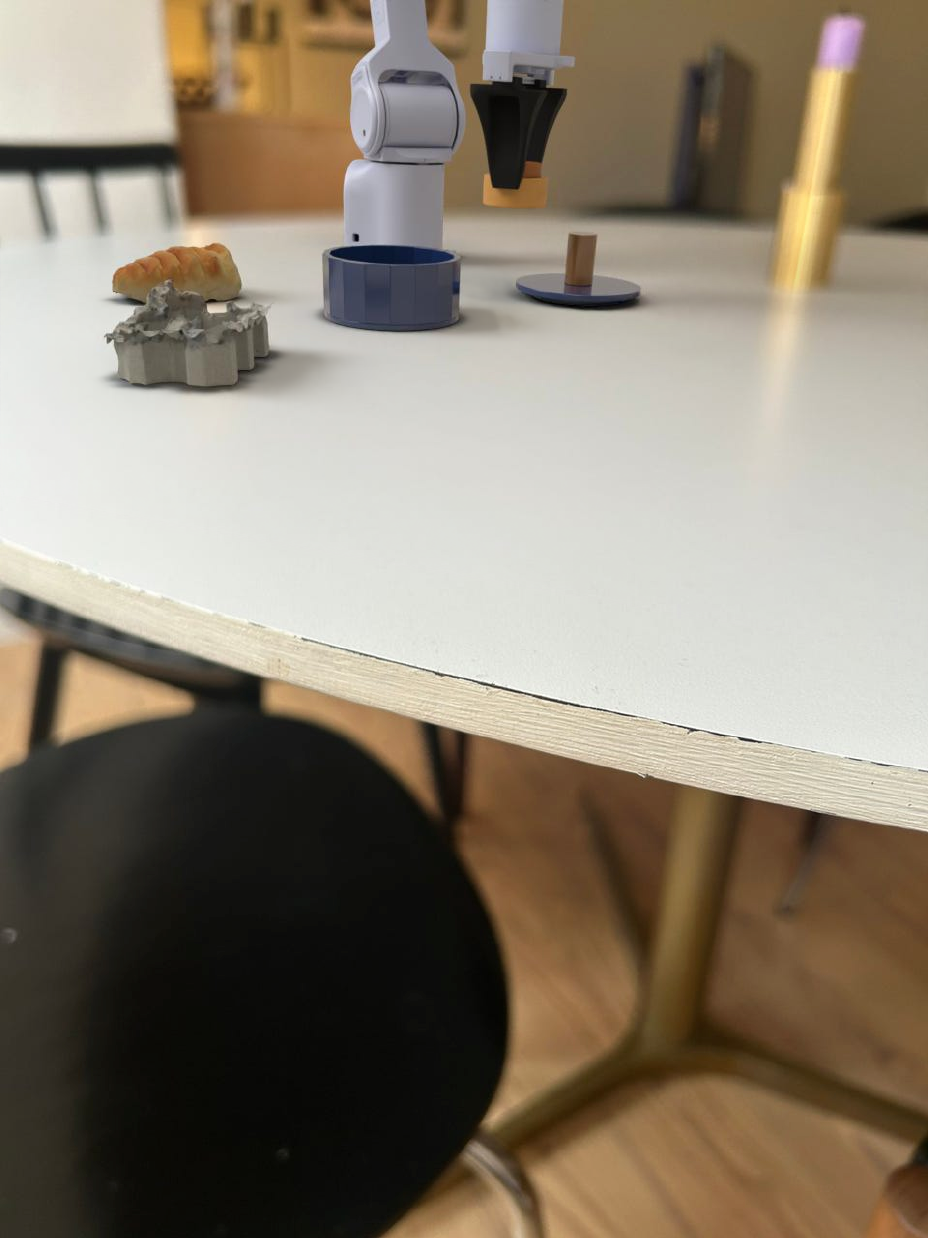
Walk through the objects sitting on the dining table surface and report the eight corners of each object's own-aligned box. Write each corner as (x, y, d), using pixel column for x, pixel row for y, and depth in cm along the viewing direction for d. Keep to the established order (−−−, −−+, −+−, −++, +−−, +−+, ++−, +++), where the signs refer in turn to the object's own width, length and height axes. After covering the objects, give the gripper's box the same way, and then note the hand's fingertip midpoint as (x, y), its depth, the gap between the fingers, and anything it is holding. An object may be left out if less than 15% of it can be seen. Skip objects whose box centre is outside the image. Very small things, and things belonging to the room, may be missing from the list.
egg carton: (174, 342, 62) (167, 276, 61) (286, 350, 62) (283, 284, 60) (96, 383, 53) (85, 306, 51) (226, 393, 52) (220, 316, 50)
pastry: (134, 309, 70) (127, 254, 69) (100, 295, 75) (92, 243, 73) (250, 298, 76) (246, 247, 74) (211, 285, 80) (207, 236, 78)
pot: (301, 321, 69) (298, 257, 67) (357, 298, 78) (356, 240, 76) (432, 336, 67) (434, 269, 65) (475, 310, 75) (477, 251, 73)
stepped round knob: (475, 205, 77) (476, 161, 76) (492, 200, 82) (494, 158, 80) (538, 210, 76) (541, 165, 74) (552, 204, 80) (555, 162, 79)
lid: (500, 301, 79) (504, 235, 76) (531, 281, 88) (536, 221, 85) (628, 314, 76) (636, 246, 74) (647, 292, 85) (655, 231, 83)
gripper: (558, -25, 64) (542, 196, 71) (596, -4, 77) (580, 183, 83) (458, -26, 66) (451, 189, 73) (511, -5, 78) (501, 178, 85)
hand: (514, 186), depth 78 cm, fingers closed on stepped round knob, 5 cm apart
